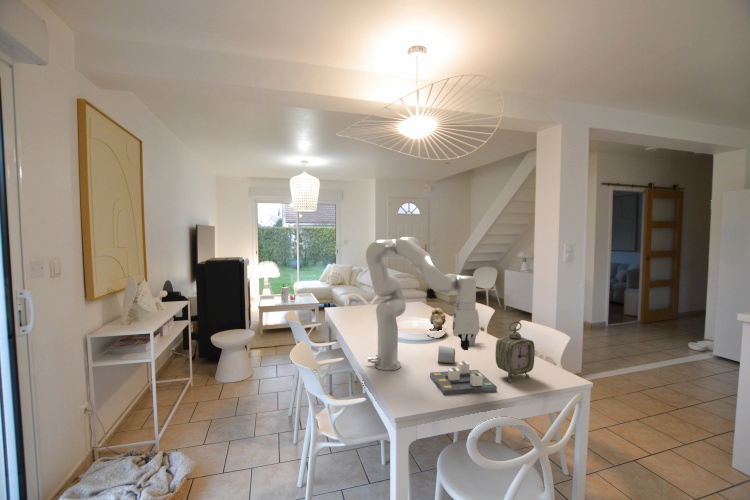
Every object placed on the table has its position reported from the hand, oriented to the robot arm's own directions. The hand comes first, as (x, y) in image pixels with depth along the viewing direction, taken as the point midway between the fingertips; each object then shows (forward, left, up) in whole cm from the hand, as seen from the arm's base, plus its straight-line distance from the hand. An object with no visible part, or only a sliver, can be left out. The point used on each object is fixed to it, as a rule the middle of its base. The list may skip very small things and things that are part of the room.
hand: (464, 349), depth 138 cm
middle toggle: (-5, 0, -12) cm, 13 cm away
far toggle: (+2, +6, -12) cm, 14 cm away
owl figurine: (+12, +68, -15) cm, 71 cm away
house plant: (+25, +48, -15) cm, 56 cm away
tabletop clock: (+24, +2, -15) cm, 28 cm away
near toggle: (+2, -6, -12) cm, 14 cm away
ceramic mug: (+2, +25, -15) cm, 29 cm away
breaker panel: (-1, 0, -15) cm, 15 cm away
